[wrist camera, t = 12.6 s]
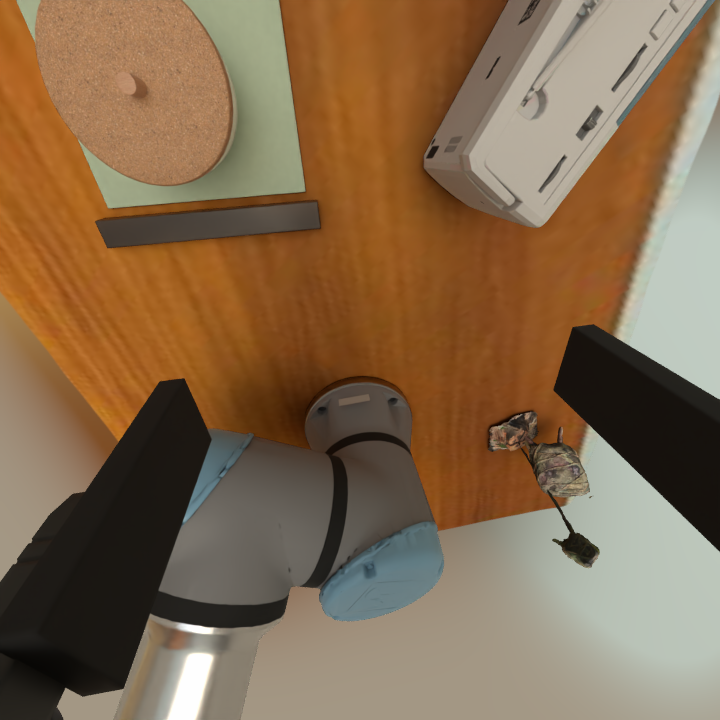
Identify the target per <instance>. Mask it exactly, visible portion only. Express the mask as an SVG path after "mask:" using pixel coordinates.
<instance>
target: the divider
mask: <svg viewBox="0 0 720 720" xmlns="http://www.w3.org/2000/svg"><path fill="white" fill-rule="evenodd" d="M95 223H96V225H97V227H98V229H99V231H100V233H101V235H102V237H103V239H104V242H105V244H106V246H107V248H116V247H127V246H138V245H149V244H159V243H170V242H181V241H191V240H202V239H213V238H224V237H234V236H245V235H256V234H267V233H277V232H288V231H299V230H310V229H320V228H321V227H320V218H319V210H318V202H317V200H308V201H296V202H285V203H273V204H262V205H250V206H239V207H227V208H216V209H204V210H193V211H181V212H170V213H158V214H147V215H135V216H124V217H112V218H103V219H100V220H97V221H95Z"/></svg>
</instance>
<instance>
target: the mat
mask: <svg viewBox="0 0 720 720" xmlns="http://www.w3.org/2000/svg"><path fill="white" fill-rule="evenodd" d="M16 1H17V3H18V5H19V7H20V10H21V12H22V14H23V17H24V19H25V21H26V23H27V26H28V28H29V30H30V32H31V35H32V37H33V39H34V41H35V23H36V16H37V10H38V7H39V4H40V1H41V0H16ZM183 1H184V2H185V3H186V4H187V5H188V6H189V8H190V9H191V10H192V11H193V12H194V14H195V15H196V16H197V18H198V19H199V20H200V22H201V23H202V24H203V25H204V27H205V28H206V30H207V32H208V33H209V35H210V37H211V38H212V40H213V42H214V43H215V45H216V47H217V48H218V50H219V52H220V53H221V55H222V57H223V60H224V62H225V64H226V66H227V68H228V71H229V74H230V77H231V80H232V83H233V86H234V90H235V95H236V100H237V112H238V118H237V129H236V134H235V139H234V141H233V144H232V146H231V149H230V151H229V152H228V154H227V156H226V157H225V159H224V160H223V161H222V162H221V163H220V164H219V165H218V166H217V167H216V168H215V169H214V170H212V171H211V172H210V173H208V174H206V175H204V176H203V177H201V178H199V179H197V180H195V181H193V182H190V183H186V184H182V185H178V186H157V185H150V184H146V183H142V182H138V181H136V180H134V179H131V178H129V177H126V176H124V175H122V174H121V173H119V172H117V171H115V170H114V169H112V168H110V167H109V166H108V165H106V164H105V163H103V162H102V161H101V160H99V159H98V158H97V157H96V156H95V155H93V154H92V153H91V152H90V151H89V150H88V149H87V148H86V147H85V146H84V145H83V144H82V143H81V142H80V141H79V140H78V141H79V143H80V145H81V148H82V150H83V152H84V154H85V157H86V159H87V161H88V163H89V166H90V168H91V170H92V173H93V175H94V177H95V179H96V182H97V184H98V186H99V188H100V191H101V193H102V195H103V197H104V200H105V202H106V204H107V206H108V208H121V207H132V206H144V205H156V204H168V203H179V202H191V201H203V200H215V199H226V198H238V197H250V196H262V195H273V194H285V193H297V192H305V191H306V190H305V183H304V175H303V168H302V161H301V154H300V147H299V139H298V132H297V125H296V118H295V111H294V103H293V96H292V89H291V82H290V74H289V67H288V60H287V53H286V46H285V38H284V31H283V24H282V17H281V10H280V2H279V0H183ZM77 139H78V138H77Z"/></svg>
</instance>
